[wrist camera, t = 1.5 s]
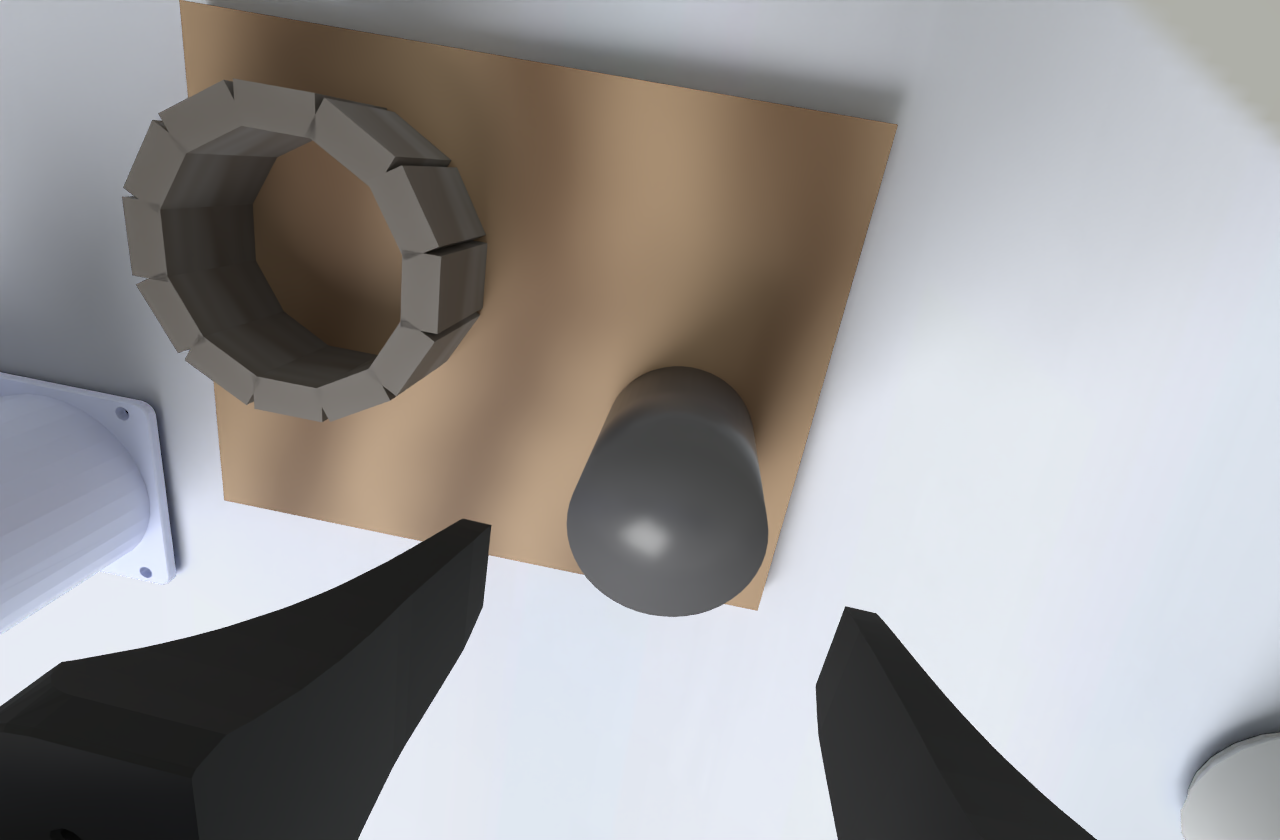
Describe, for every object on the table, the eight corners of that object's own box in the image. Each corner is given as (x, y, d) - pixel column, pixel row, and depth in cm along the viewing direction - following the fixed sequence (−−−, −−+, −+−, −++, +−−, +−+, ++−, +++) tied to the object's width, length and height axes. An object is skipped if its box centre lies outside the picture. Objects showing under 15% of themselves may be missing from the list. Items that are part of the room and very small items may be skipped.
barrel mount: (243, 488, 24) (145, 552, 20) (205, 8, 19) (57, -41, 14) (755, 593, 24) (764, 682, 19) (888, 127, 18) (941, 112, 14)
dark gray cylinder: (596, 487, 22) (555, 594, 16) (617, 352, 20) (580, 421, 14) (735, 515, 21) (742, 633, 16) (769, 382, 20) (791, 462, 14)
